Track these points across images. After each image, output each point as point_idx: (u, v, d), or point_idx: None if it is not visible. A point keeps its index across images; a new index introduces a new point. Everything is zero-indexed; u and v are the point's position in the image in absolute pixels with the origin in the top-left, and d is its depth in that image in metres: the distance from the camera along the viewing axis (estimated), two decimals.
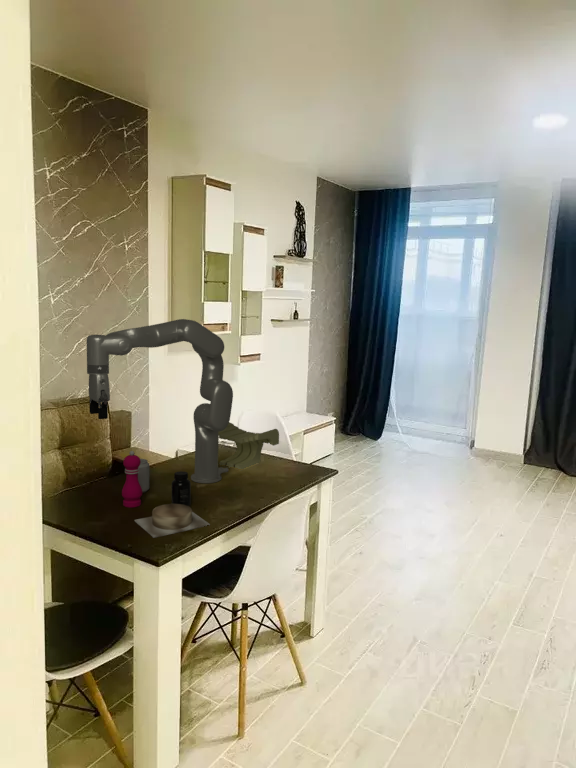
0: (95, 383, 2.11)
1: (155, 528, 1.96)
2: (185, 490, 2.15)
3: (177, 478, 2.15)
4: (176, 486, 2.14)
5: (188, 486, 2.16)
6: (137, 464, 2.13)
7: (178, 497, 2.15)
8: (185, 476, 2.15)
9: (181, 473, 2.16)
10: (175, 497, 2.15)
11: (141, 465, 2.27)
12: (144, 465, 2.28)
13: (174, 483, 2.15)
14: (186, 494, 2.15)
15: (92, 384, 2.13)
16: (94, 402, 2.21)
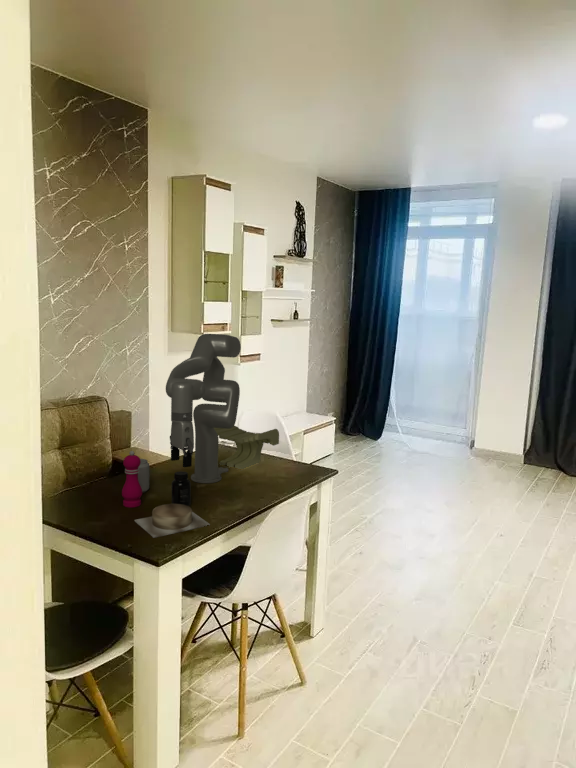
0: (181, 431, 2.09)
1: (155, 528, 1.96)
2: (185, 490, 2.15)
3: (177, 478, 2.15)
4: (176, 486, 2.14)
5: (188, 486, 2.16)
6: (137, 464, 2.13)
7: (178, 497, 2.15)
8: (185, 476, 2.15)
9: (181, 473, 2.16)
10: (175, 497, 2.15)
11: (141, 465, 2.27)
12: (144, 465, 2.28)
13: (174, 483, 2.15)
14: (186, 494, 2.15)
15: (176, 432, 2.11)
16: (175, 449, 2.19)
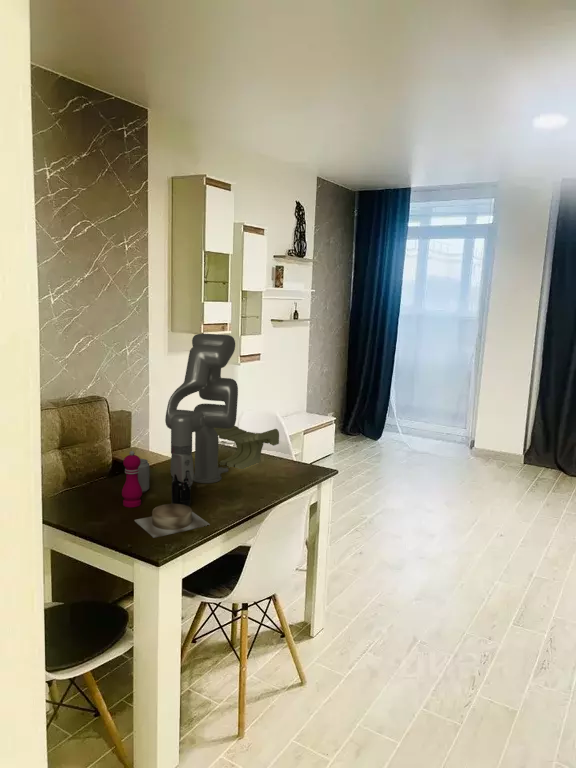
0: (180, 464, 2.11)
1: (155, 528, 1.96)
2: None
3: None
4: (176, 486, 2.14)
5: None
6: (137, 464, 2.13)
7: (177, 497, 2.14)
8: None
9: None
10: (175, 497, 2.15)
11: (141, 465, 2.27)
12: (144, 465, 2.28)
13: (174, 483, 2.15)
14: None
15: (176, 464, 2.13)
16: None
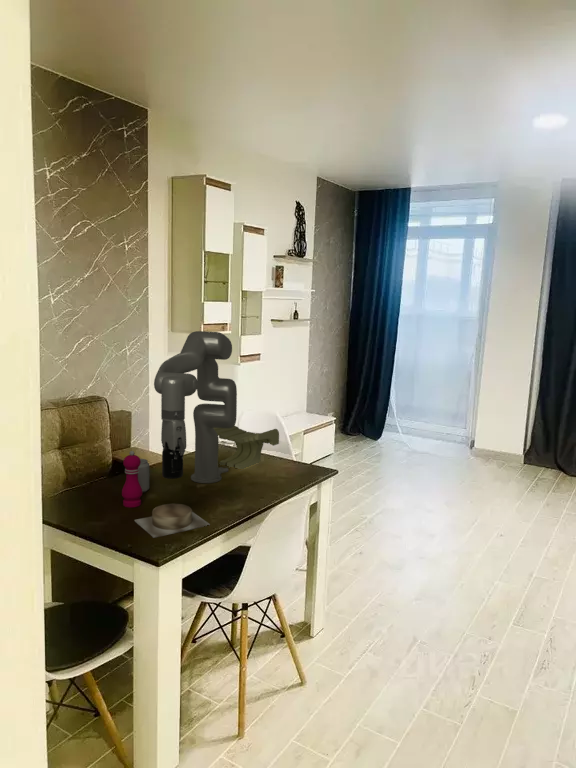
0: (172, 430, 1.92)
1: (155, 528, 1.96)
2: None
3: None
4: (166, 455, 1.95)
5: None
6: (137, 464, 2.13)
7: (169, 467, 1.95)
8: None
9: None
10: (166, 467, 1.95)
11: (141, 465, 2.27)
12: (144, 465, 2.28)
13: (165, 452, 1.95)
14: None
15: (167, 431, 1.94)
16: None
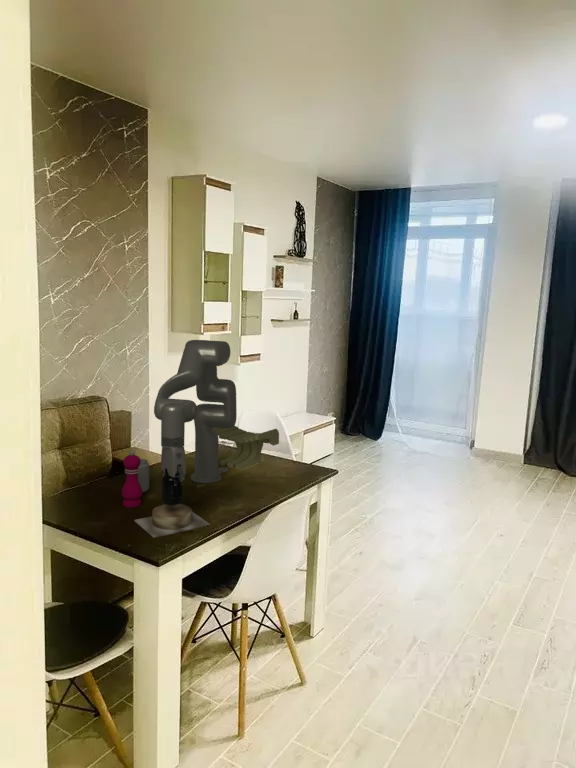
0: (171, 457, 1.93)
1: (155, 528, 1.96)
2: None
3: None
4: (166, 482, 1.96)
5: None
6: (137, 464, 2.13)
7: (168, 494, 1.96)
8: None
9: None
10: (166, 494, 1.97)
11: (141, 465, 2.27)
12: (144, 465, 2.28)
13: (164, 478, 1.97)
14: None
15: (167, 458, 1.95)
16: None
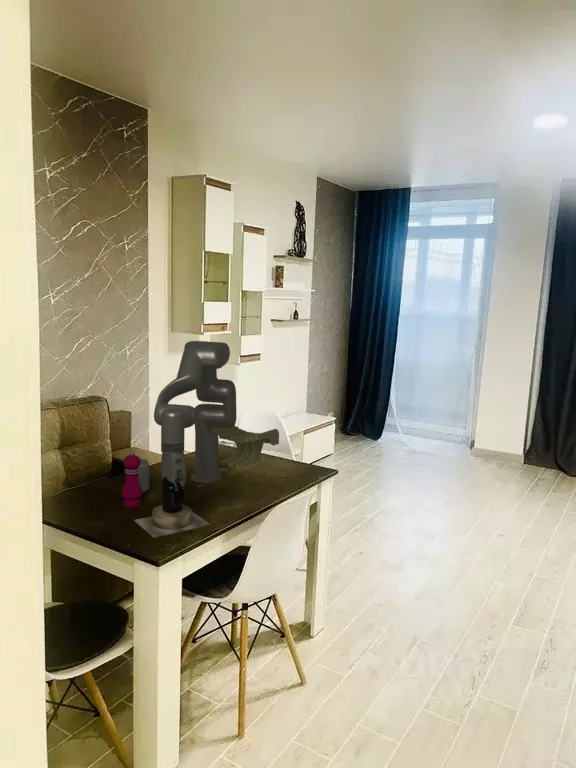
0: (171, 463, 1.94)
1: (155, 528, 1.96)
2: None
3: (168, 481, 1.97)
4: (166, 490, 1.97)
5: None
6: (137, 464, 2.13)
7: (168, 502, 1.97)
8: None
9: None
10: (166, 502, 1.97)
11: (141, 465, 2.27)
12: (144, 465, 2.28)
13: (164, 486, 1.97)
14: None
15: (167, 463, 1.96)
16: None
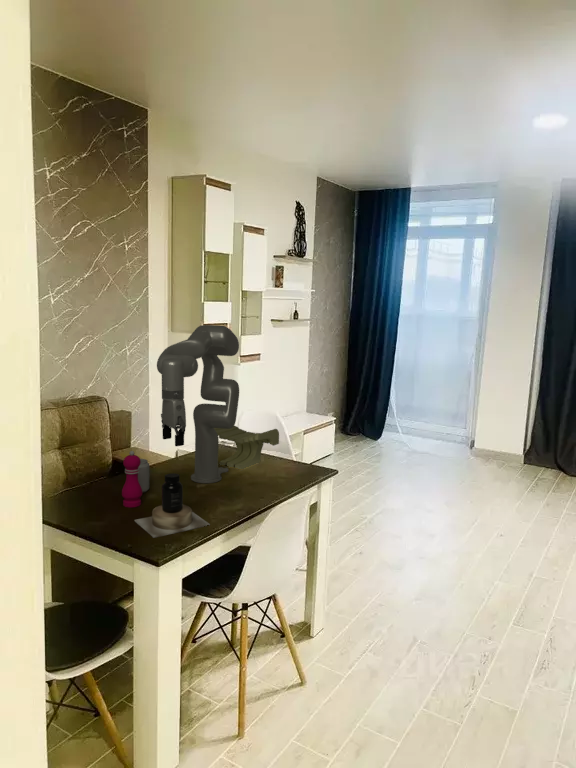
0: (172, 409, 2.03)
1: (155, 528, 1.96)
2: (176, 494, 1.97)
3: (168, 481, 1.97)
4: (166, 490, 1.97)
5: (180, 489, 1.98)
6: (137, 464, 2.13)
7: (168, 502, 1.97)
8: (176, 479, 1.98)
9: (172, 475, 1.99)
10: (166, 502, 1.97)
11: (141, 465, 2.27)
12: (144, 465, 2.28)
13: (164, 486, 1.97)
14: (178, 498, 1.98)
15: (168, 410, 2.05)
16: (167, 427, 2.13)
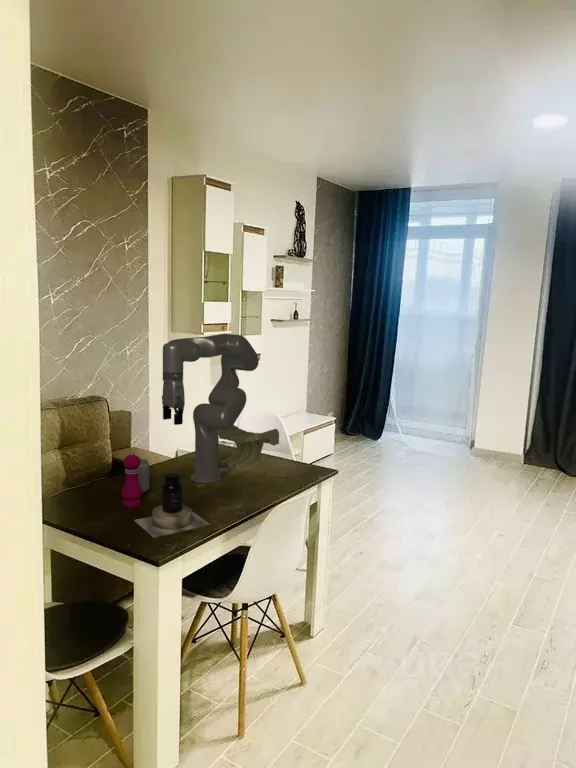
0: (172, 390, 2.18)
1: (155, 528, 1.96)
2: (176, 494, 1.97)
3: (168, 481, 1.97)
4: (166, 490, 1.97)
5: (180, 489, 1.98)
6: (137, 464, 2.13)
7: (168, 502, 1.97)
8: (176, 479, 1.98)
9: (172, 475, 1.99)
10: (166, 502, 1.97)
11: (141, 465, 2.27)
12: (144, 465, 2.28)
13: (164, 486, 1.97)
14: (178, 498, 1.98)
15: (168, 391, 2.20)
16: (167, 408, 2.28)
